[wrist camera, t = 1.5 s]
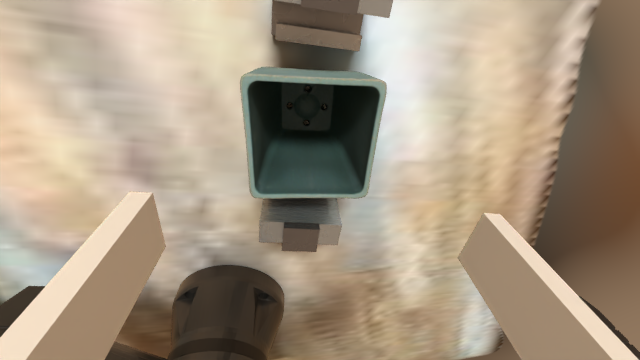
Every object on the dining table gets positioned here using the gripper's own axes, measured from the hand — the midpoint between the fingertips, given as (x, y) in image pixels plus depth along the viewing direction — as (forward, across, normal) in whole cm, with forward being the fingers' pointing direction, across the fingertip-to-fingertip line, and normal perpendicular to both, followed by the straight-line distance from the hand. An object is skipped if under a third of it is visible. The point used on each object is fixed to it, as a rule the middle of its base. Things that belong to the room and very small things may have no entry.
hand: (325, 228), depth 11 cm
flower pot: (+17, 0, 0) cm, 17 cm away
